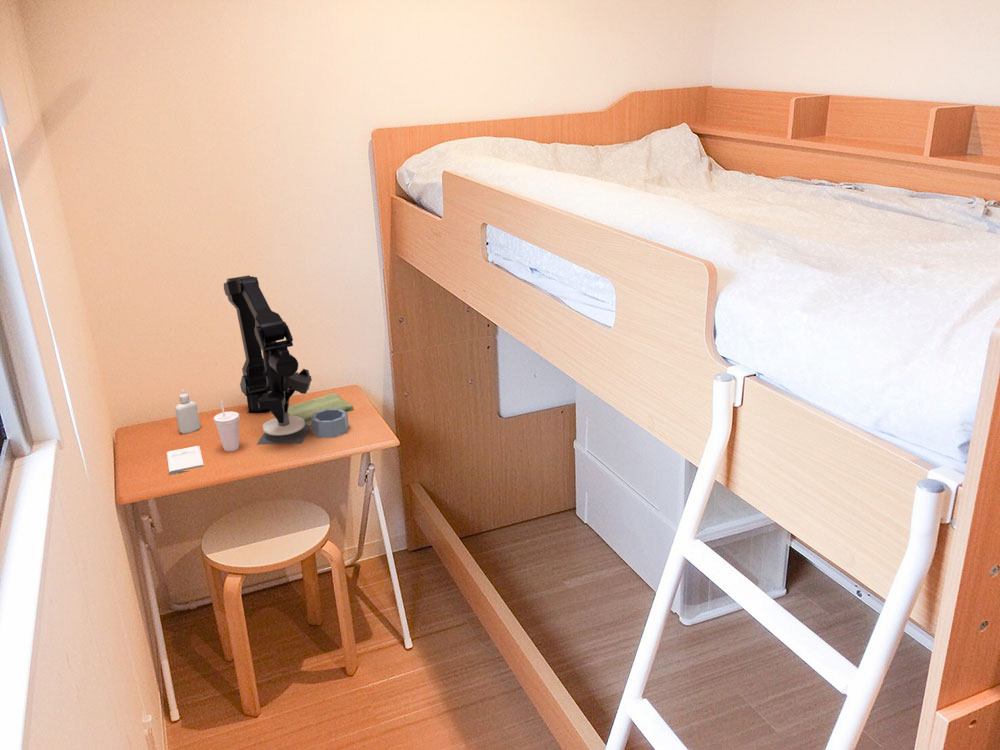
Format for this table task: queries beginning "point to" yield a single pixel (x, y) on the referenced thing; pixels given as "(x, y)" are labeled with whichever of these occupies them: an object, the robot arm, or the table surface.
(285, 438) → the mat
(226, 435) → the smoothie
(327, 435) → the bowl
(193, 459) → the external hard drive
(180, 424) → the eye dropper bottle
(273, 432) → the lid
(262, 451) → the table surface
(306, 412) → the washcloth
